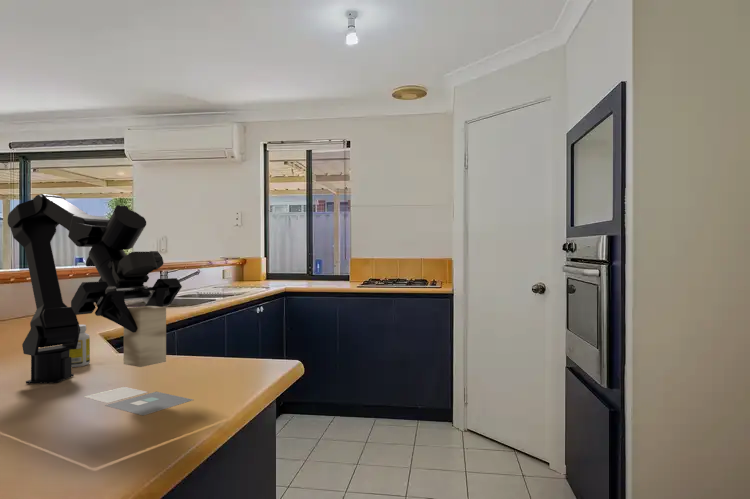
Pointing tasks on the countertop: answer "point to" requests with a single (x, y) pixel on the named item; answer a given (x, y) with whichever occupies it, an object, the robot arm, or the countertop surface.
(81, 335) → the supplement bottle
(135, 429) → the countertop surface
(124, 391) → the pad
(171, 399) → the gray tile
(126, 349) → the birch block
